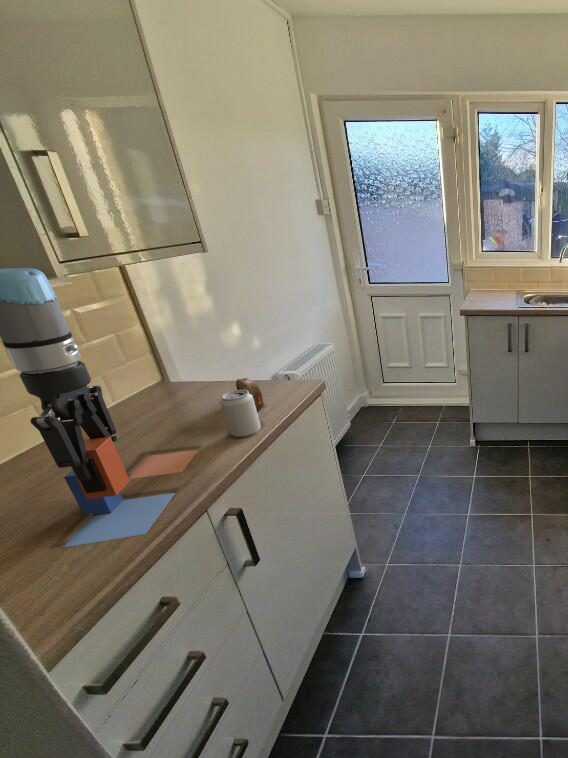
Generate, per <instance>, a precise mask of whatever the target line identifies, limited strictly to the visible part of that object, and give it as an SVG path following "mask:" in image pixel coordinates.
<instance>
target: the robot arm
mask: <svg viewBox="0 0 568 758" xmlns="http://www.w3.org/2000/svg"><path fill="white" fill-rule="evenodd" d="M0 339H1V342H2V344H3V347H4V349H5V350H6V353H7V355H8V357H9V359H10V360H11V363H12V365H13V368H14V369H15V370H16V371H18V372H20V374H19V378H20V380H21V382H22V384H23V386H24V388H25V390H26V392H27V393H28V394H29V395H31V396H34V397H36V398H38V399H39V400H40V407H41V410H42V412H41V413H40V414H39V416H33V417H31V418H30V424H31V425H32V426H33V427H34V428H35V429H36V430H37V431H38V432H39V434H40V436H41V437H42V440H43V441H44V443H45V445H46V447H47V449H48V451H49V452H50V453H49V454H50V455H51V456H52V458H53V460H54V463H55V464H56V466H57V467H58V468H59V469H62V468H71V467H72V468H73V470H74V472H75V474H76V476H77V478H78V479H79V480H80V481H81V483H82V485H83V487H84V489H85V491H86V493H94V492H101V491H105V490H106V489H107V487H106V485H105V483H104V481H103V479H102V477H101V475H100V472H99V470H98V468H97V466H96V464H95V462H94V459H88V455H87V451H86V447H85V443H84V440H85V439H84V435H83V432H82V430H83V431H84V433H85V435H87V437H88V439H96V438H106V437H111V439H112V441H113V443H115V442H117V440H118V436H116V434H117V428H116V426H115V423H114V422H113V419H112V417H111V414H110V411H109V410H108V409H109V408H108V407H107V405H106V402H105V400H104V396H103V390H102V386H100V385H89V384H90V383H91V382H92V378H91V375H90V373H89V370H88V368H87V366H86V364H85V362H83V361H81V360H82V355H81V353H80V351H79V347H78V345H77V344H76V342H75V340H74V338H73V334H72V332H71V330H70V327H69V325H68V323H67V320H66V317H65V315H64V313H63V310H62V307H61V305H60V302H59V299H58V295H57V293H56V292H55V291H54V289H53V287H52V285H51V283H50V281H49V280H48V278H47V276H46V274H45V273H44V271H41V270H39V269H38V268H37V269H36V268H33V267H13V268H12V267H7V268H0ZM88 385H89V386H88ZM114 435H115V436H114ZM72 468H71V469H72Z"/></svg>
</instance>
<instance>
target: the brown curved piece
mask: <svg viewBox="0 0 568 758" xmlns="http://www.w3.org/2000/svg"><path fill="white" fill-rule="evenodd" d="M235 386H236V390H247V391H249V394H251V395H252V396H253V399H254V403H255V406H256V410H257V411H258V410H261V409H264V404H265V403H264V399H263V393H262V390H261V388H260V386H259V385H258V384H257V383H255V382H254V381H252V380H251V379H249V378H247V377H245V378H244V377H243V378H237V379H236V382H235Z"/></svg>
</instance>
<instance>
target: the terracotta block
mask: <svg viewBox="0 0 568 758" xmlns="http://www.w3.org/2000/svg"><path fill="white" fill-rule="evenodd" d="M111 437H112V436H111ZM111 437H106V438H96V439H90V438H86V439H84V443H85V447H86V451H87V455H88V459H94V462H95V464H96V466H97V468H98V470H99V472H100V475H101V477H102V479H103V481H104V483H105V485H106V487H107V489H106V490H105V491H101V492H94V493H86V491H85V489H84V487H83V485H82V483H81V481H80V480H79V479H78V478H77V476H76V474H75V472H74V470H73V468H72V467H70V468H71V470H73V472H74V474H75V476H76V478H77V480H78V482H79V484H80V486H81V488H82V490H83V492H84V494H85V496H86V498H87V499H94V498H101V497H109V496H116V495H117V494H118V493H119V492H120V493H121V492H122V490H123V489H125V487H126V486H127V485H128V484H129V483H130V479H129V478H128V477H129V475H128V473H127V470H126V469H125V466H124V464H123V463H122V460H121V458H120V455H119V453H118V451H117V448H116V446H115V444H114V442H113V441H112V439H111Z"/></svg>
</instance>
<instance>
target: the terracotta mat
mask: <svg viewBox="0 0 568 758" xmlns="http://www.w3.org/2000/svg"><path fill="white" fill-rule="evenodd" d="M199 451H200V449H195V450H186V451H185V450H184V451H179V452H178V451H177V452H169V453H162V454H154V455H148V456H147V457H146V458H145V459H144V460H143V461H142V462H141V463H140V464H139V465H138V466H137V468H136V469H135V470H134V471H133V472H131V474H130V475H128V478H129V480H133V479H141V478H147V477H157V476H164V475H170V474H179V473H182V472H184V471H185V469H186V468H187V466H188V465H189V464H190V462H191V461H192V460H193V459H194V457H195V456H196V455H197V453H198V452H199Z"/></svg>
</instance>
